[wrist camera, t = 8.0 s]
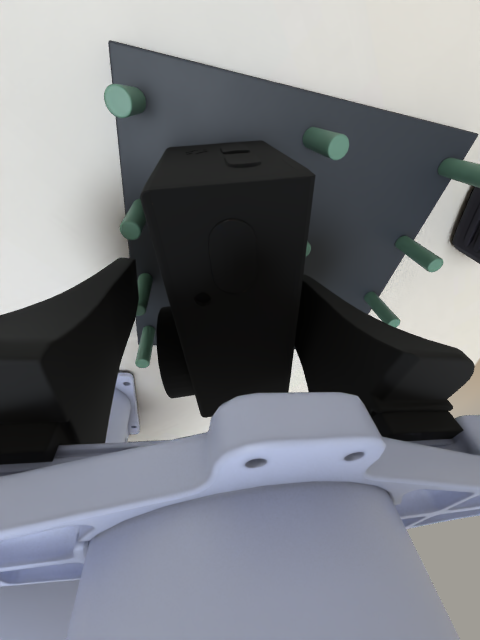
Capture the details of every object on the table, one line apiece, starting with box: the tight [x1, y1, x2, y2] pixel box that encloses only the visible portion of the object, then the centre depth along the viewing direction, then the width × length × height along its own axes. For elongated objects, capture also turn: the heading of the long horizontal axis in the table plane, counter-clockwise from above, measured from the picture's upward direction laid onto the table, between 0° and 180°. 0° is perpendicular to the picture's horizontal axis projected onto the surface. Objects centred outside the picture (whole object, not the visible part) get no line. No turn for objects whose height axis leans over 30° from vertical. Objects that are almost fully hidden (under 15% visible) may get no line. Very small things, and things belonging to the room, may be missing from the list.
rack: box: [104, 40, 480, 368], centre depth 15 cm, size 15×16×4 cm
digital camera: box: [140, 140, 316, 417], centre depth 12 cm, size 10×5×7 cm, turn 3°
